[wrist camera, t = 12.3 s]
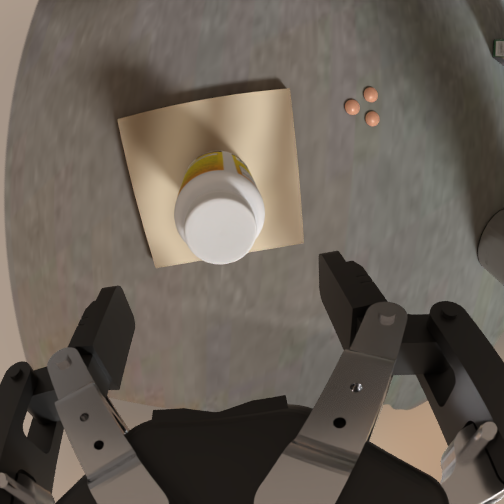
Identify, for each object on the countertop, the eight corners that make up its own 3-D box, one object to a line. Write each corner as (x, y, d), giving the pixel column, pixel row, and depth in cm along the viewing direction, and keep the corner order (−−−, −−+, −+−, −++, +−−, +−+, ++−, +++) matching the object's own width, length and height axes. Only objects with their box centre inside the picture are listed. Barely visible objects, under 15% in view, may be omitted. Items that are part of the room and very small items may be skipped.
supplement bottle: (175, 201, 26) (156, 261, 17) (197, 140, 24) (186, 167, 15) (237, 221, 28) (249, 288, 19) (261, 163, 26) (288, 203, 17)
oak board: (286, 88, 24) (289, 88, 23) (301, 238, 30) (303, 243, 30) (120, 118, 23) (117, 119, 22) (157, 262, 30) (155, 268, 29)
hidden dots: (376, 87, 24) (377, 87, 24) (379, 125, 26) (379, 126, 26) (343, 87, 24) (343, 87, 24) (346, 127, 26) (346, 127, 26)
